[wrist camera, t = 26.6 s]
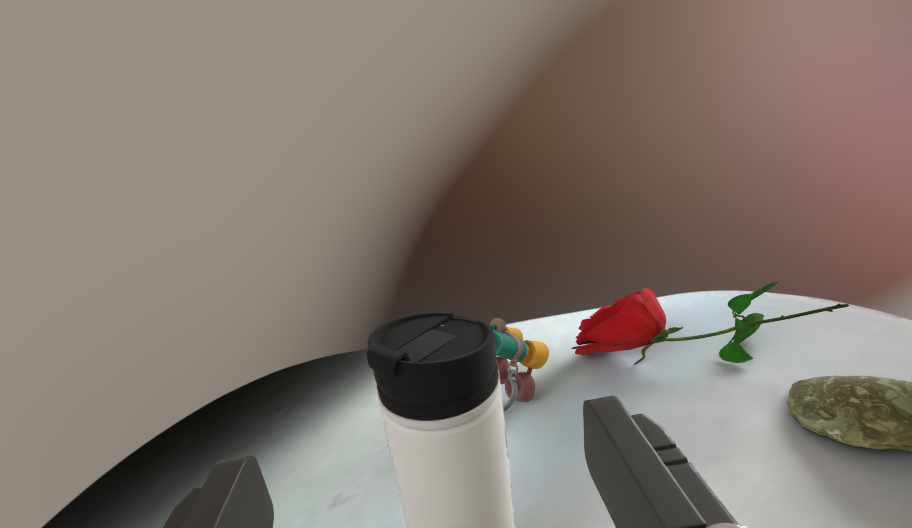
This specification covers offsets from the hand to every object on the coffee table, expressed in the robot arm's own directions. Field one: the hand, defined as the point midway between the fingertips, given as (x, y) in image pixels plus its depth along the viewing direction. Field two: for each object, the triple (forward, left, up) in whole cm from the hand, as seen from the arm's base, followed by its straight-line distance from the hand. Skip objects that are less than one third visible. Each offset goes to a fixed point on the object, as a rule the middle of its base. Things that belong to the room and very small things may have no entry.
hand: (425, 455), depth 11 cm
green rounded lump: (-30, -28, -23) cm, 48 cm away
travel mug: (+2, -10, -22) cm, 25 cm away
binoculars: (+2, -33, -23) cm, 40 cm away
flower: (-21, -41, -23) cm, 52 cm away
